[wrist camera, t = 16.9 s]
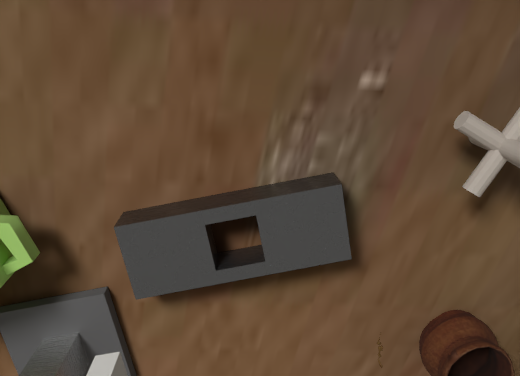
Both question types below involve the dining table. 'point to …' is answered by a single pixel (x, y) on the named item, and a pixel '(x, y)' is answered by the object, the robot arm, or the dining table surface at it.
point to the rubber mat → (65, 325)
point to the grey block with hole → (241, 260)
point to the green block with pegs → (14, 245)
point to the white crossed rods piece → (490, 148)
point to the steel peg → (58, 357)
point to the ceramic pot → (461, 347)
